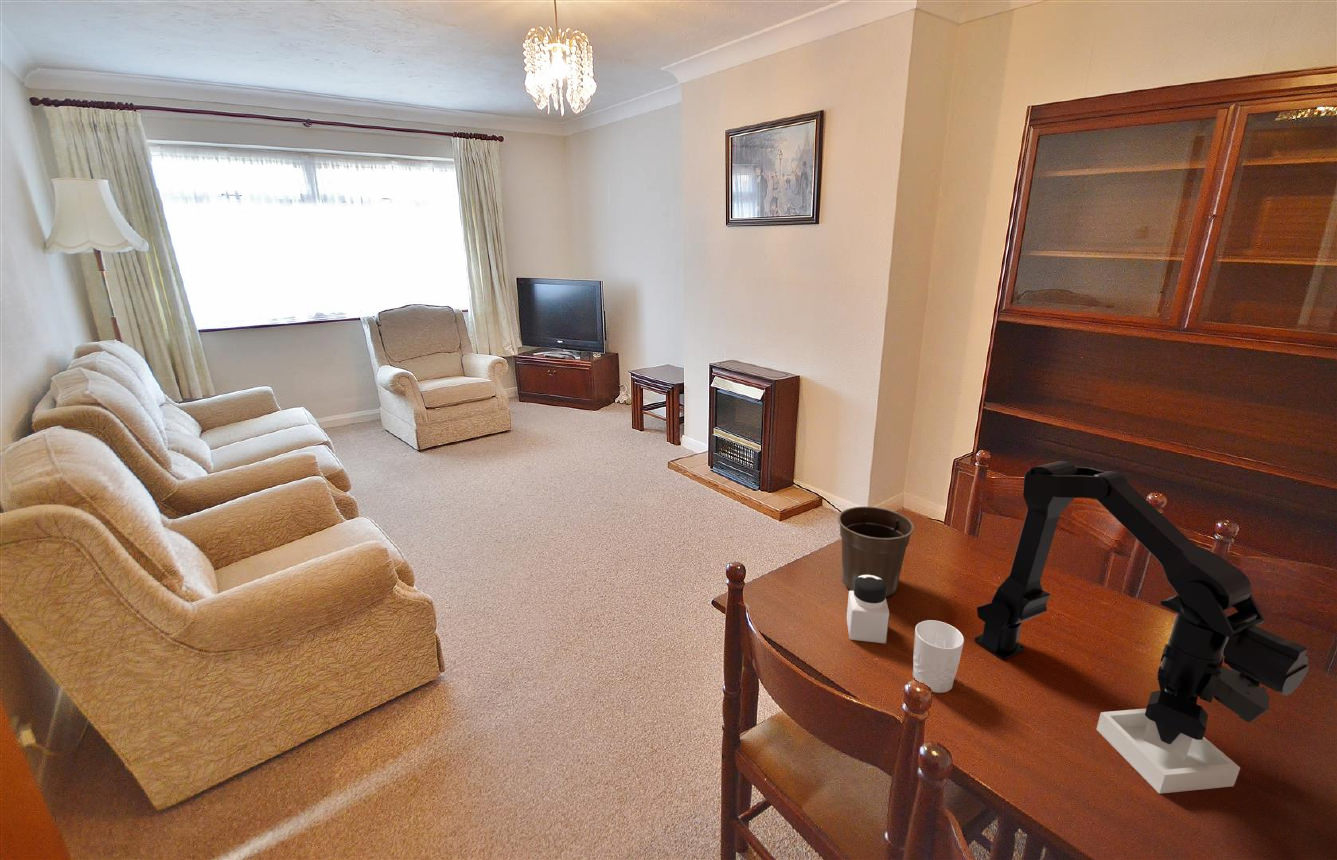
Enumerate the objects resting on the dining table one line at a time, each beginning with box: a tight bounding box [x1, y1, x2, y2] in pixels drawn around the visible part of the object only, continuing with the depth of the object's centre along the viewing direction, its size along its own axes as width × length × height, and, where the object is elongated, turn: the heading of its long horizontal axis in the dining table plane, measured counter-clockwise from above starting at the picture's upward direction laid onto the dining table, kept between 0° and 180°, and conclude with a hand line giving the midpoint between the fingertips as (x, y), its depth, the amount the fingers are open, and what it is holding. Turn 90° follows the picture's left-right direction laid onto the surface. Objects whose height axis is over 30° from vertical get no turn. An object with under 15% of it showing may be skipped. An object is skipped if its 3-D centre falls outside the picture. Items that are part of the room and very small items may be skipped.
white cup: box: [912, 619, 965, 694], centre depth 105 cm, size 8×8×10 cm
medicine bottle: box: [846, 575, 891, 644], centre depth 118 cm, size 7×7×12 cm
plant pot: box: [837, 506, 915, 597], centre depth 133 cm, size 16×16×16 cm
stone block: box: [1143, 720, 1193, 759], centre depth 88 cm, size 5×5×6 cm
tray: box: [1096, 707, 1241, 794], centre depth 89 cm, size 12×12×4 cm
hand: (1168, 731), depth 88 cm, fingers closed on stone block, 5 cm apart
